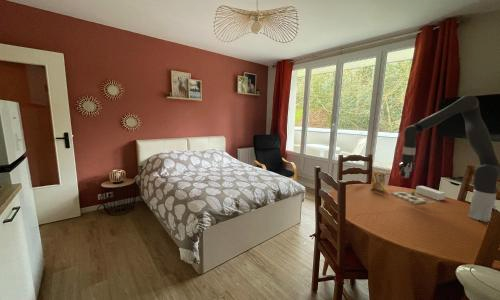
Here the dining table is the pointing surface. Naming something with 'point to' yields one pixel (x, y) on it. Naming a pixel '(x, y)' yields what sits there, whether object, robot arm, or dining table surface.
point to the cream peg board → (408, 197)
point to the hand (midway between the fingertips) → (405, 176)
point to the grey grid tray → (420, 197)
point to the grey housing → (430, 192)
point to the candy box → (378, 180)
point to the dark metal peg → (407, 172)
